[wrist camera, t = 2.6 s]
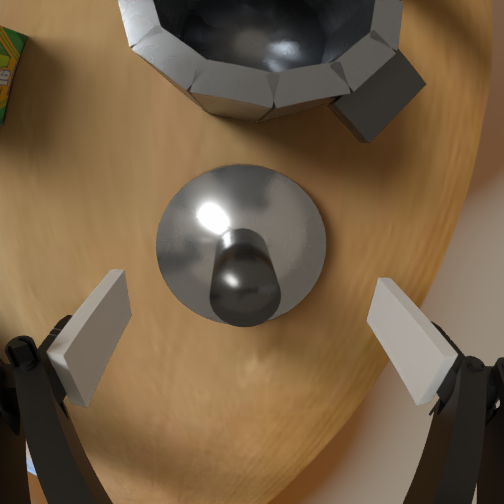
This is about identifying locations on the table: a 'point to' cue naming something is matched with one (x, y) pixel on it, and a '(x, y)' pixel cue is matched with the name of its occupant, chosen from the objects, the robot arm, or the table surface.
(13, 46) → the chalk box
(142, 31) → the pot
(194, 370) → the table surface
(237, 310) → the lid
